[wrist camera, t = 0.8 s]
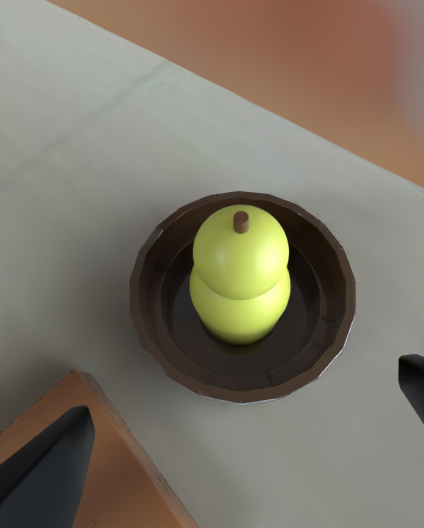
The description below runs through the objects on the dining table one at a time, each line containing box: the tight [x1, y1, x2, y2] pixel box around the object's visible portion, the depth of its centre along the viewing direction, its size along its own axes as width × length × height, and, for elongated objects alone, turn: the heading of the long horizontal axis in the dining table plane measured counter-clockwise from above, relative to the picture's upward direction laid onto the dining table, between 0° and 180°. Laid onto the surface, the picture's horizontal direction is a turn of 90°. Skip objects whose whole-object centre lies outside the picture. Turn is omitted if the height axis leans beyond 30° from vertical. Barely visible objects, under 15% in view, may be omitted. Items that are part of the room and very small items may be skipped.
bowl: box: [130, 191, 356, 406], centre depth 22 cm, size 14×14×5 cm
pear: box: [190, 205, 290, 345], centre depth 18 cm, size 7×7×12 cm
